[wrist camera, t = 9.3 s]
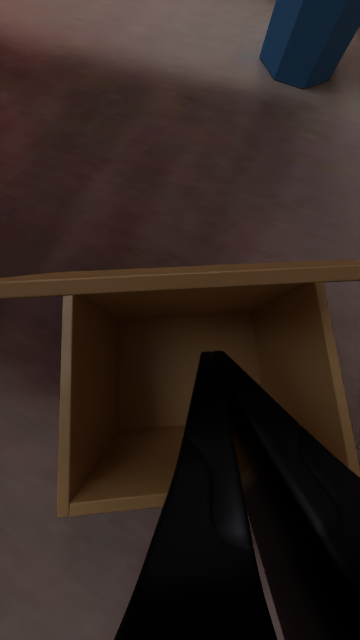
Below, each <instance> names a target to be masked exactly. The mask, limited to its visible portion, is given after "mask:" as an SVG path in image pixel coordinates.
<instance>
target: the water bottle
mask: <svg viewBox="0 0 360 640" xmlns="http://www.w3.org/2000/svg"><path fill="white" fill-rule="evenodd" d="M359 26H360V0H276V3H275V6H274V10H273V13H272V16H271V20H270V23H269V27H268V30H267V33H266V37H265V40H264V43H263V47H262V50H261V54H260V59H261V60H262V62H263V63H264V65H265V66H266V68H267V69H268V71H269V72H270V74H271V75H272V77H273V78H274V79H275V80H278V81H281V82H284V83H287V84H290V85H293V86H296V87H299V88H302V89H305V88H307V87H310V86H313V85H316V84H319V83H322V82H325V81H328V80H329V78H330V77H331V75H332V73H333V71H334V70H335V68H336V66H337V64H338V63H339V61H340V59H341V57H342V56H343V54H344V52H345V50H346V49H347V47H348V45H349V44H350V42H351V40H352V38H353V37H354V35H355V33H356V31H357V30H358V28H359Z"/></svg>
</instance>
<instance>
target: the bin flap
mask: <svg viewBox="0 0 360 640" xmlns="http://www.w3.org/2000/svg"><path fill="white" fill-rule="evenodd" d="M342 281H360V260H318V261H296V262H274V263H252V264H230V265H208V266H186V267H164V268H142V269H120V270H98V271H76V272H55V273H46V274H36V275H26V276H17V277H7V278H0V299H11V298H31V297H50V296H70V295H89V294H108V293H128V292H147V291H167V290H186V289H206V288H225V287H244V286H264V285H283V284H303V283H322V282H342Z"/></svg>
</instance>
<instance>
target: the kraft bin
mask: <svg viewBox="0 0 360 640" xmlns="http://www.w3.org/2000/svg"><path fill="white" fill-rule="evenodd" d="M221 350H222V351H224V352H225V353H226V354H227V355H228V356H229V357H230V358H231V359H233V360H234V361H235V362H236V363H237V364H238V365H239V366H240V367H241V368H242V369H243V370H244V371H245V372H246V373H247V374H248V375H249V376H250V377H251V378H252V379H253V380H254V381H256V382H257V383H258V384H259V385H260V386H261V387H262V388H263V389H264V390H265V391H266V392H267V393H268V394H269V395H270V396H271V397H272V398H273V399H274V400H275V401H276V402H277V403H279V404H280V405H281V406H282V407H283V408H284V409H285V410H286V411H287V412H288V413H289V414H290V415H291V416H292V417H293V418H294V419H295V420H296V421H297V422H298V423H299V424H300V426H303V427H304V428H305V429H306V430H307V431H308V432H309V433H310V434H311V435H312V436H313V437H314V438H315V439H316V440H318V441H319V442H320V443H321V444H322V445H323V446H324V447H325V448H326V449H327V450H328V451H329V452H331V453H332V454H333V455H334V456H335V457H336V458H337V459H339V460H340V461H341V462H342V463H343V464H344V465H346V466H347V467H348V468H349V469H350V470H351V471H353V472H354V473H355V474H356V475H357V476H359V477H360V468H359V463H358V457H357V452H356V447H355V442H354V437H353V432H352V426H351V421H350V416H349V411H348V406H347V400H346V395H345V390H344V385H343V380H342V374H341V369H340V364H339V359H338V354H337V349H336V343H335V338H334V333H333V328H332V323H331V317H330V312H329V307H328V302H327V297H326V291H325V286H324V282H322V283H303V284H283V285H264V286H244V287H225V288H206V289H186V290H167V291H147V292H128V293H108V294H89V295H70V296H63V314H62V349H61V384H60V418H59V453H58V488H57V518H63V517H68V516H70V517H72V516H82V515H91V514H100V513H110V512H119V511H128V510H138V509H147V508H156V507H163V506H164V503H165V500H166V497H167V494H168V491H169V488H170V484H171V481H172V478H173V475H174V472H175V468H176V464H177V460H178V456H179V452H180V447H181V443H182V438H183V436H184V429H185V425H186V420H187V415H188V411H189V406H190V401H191V397H192V392H193V387H194V383H195V378H196V373H197V369H198V364H199V359H200V355H201V352H206V351H211V352H213V351H221Z"/></svg>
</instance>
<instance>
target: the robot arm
mask: <svg viewBox="0 0 360 640" xmlns="http://www.w3.org/2000/svg"><path fill="white" fill-rule="evenodd" d="M247 513H248V515H247ZM248 516H249V520H250V523H251V526H252V530H253V533H254V537H255V540H256V543H257V547H258V550H259V554H260V557H261V560H262V564H263V567H264V569H265V574H266V578H267V581H268V585H269V588H270V591H271V595H272V598H273V602H274V605H275V608H276V612H277V615H278V619H279V622H280V625H281V629H282V632H283V636H284V639H285V640H360V477H359V476H357V475H356V474H355V473H354V472H353V471H351V470H350V469H349V468H348V467H347V466H346V465H344V464H343V463H342V462H341V461H340V460H339V459H337V458H336V457H335V456H334V455H333V454H332V453H331V452H329V451H328V450H327V449H326V448H325V447H324V446H323V445H322V444H321V443H320V442H319V441H318V440H316V439H315V438H314V437H313V436H312V435H311V434H310V433H309V432H308V431H307V430H306V429H305V428H304V427H303V426H300V424H299V423H298V422H297V421H296V420H295V419H294V418H293V417H292V416H291V415H290V414H289V413H288V412H287V411H286V410H285V409H284V408H283V407H282V406H281V405H280V404H279V403H277V402H276V401H275V400H274V399H273V398H272V397H271V396H270V395H269V394H268V393H267V392H266V391H265V390H264V389H263V388H262V387H261V386H260V385H259V384H258V383H257V382H256V381H254V380H253V379H252V378H251V377H250V376H249V375H248V374H247V373H246V372H245V371H244V370H243V369H242V368H241V367H240V366H239V365H238V364H237V363H236V362H235V361H234V360H233V359H231V358H230V357H229V356H228V355H227V354H226V353H225V352H224V351H222V350H221V351H213V352H211V351H206V352H201V355H200V359H199V364H198V369H197V373H196V378H195V383H194V387H193V392H192V397H191V401H190V406H189V411H188V415H187V420H186V425H185V429H184V436H183V438H182V443H181V447H180V452H179V456H178V460H177V464H176V468H175V472H174V475H173V478H172V481H171V484H170V488H169V491H168V494H167V497H166V500H165V503H164V506H163V509H162V511H161V514H160V517H159V520H158V523H157V526H156V529H155V532H154V535H153V538H152V541H151V543H150V546H149V549H148V552H147V555H146V558H145V561H144V564H143V567H142V570H141V572H140V575H139V578H138V581H137V583H136V586H135V589H134V591H133V594H132V597H131V599H130V602H129V604H128V607H127V609H126V612H125V614H124V617H123V619H122V622H121V624H120V627H119V629H118V631H117V634H116V636H115V638H114V640H277V637H276V634H275V630H274V627H273V624H272V620H271V617H270V614H269V611H268V607H267V604H266V600H265V597H264V593H263V589H262V585H261V581H260V576H259V572H258V567H257V563H256V558H255V553H254V549H253V547H252V546H253V542H252V536H251V531H250V525H249V520H248Z"/></svg>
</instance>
